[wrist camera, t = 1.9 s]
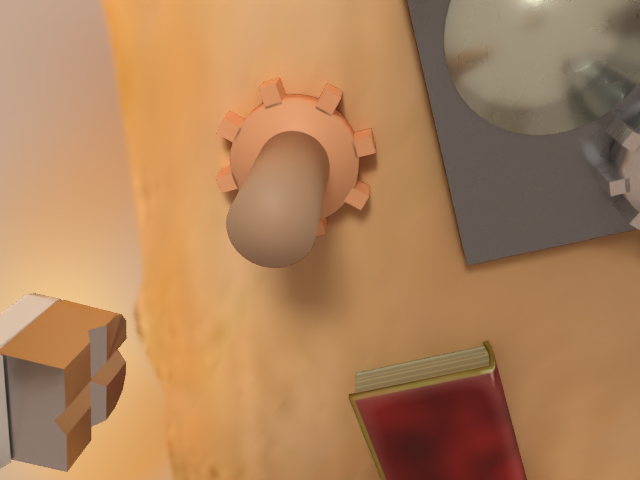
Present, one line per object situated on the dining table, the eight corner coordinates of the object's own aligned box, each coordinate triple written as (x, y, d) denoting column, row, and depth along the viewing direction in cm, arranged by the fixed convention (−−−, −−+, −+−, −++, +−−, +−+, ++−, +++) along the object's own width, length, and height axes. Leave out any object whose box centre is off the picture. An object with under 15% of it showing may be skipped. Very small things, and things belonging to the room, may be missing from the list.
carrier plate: (387, -84, 37) (389, -86, 32) (751, -207, 33) (816, -231, 28) (464, 255, 47) (474, 294, 42) (751, 193, 43) (799, 227, 38)
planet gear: (196, 102, 43) (136, 159, 33) (351, 56, 41) (342, 101, 30) (250, 241, 48) (213, 331, 37) (393, 207, 46) (397, 292, 35)
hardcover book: (489, 337, 51) (498, 369, 47) (534, 509, 59) (545, 548, 55) (350, 366, 53) (348, 400, 49) (413, 527, 62) (415, 566, 58)
